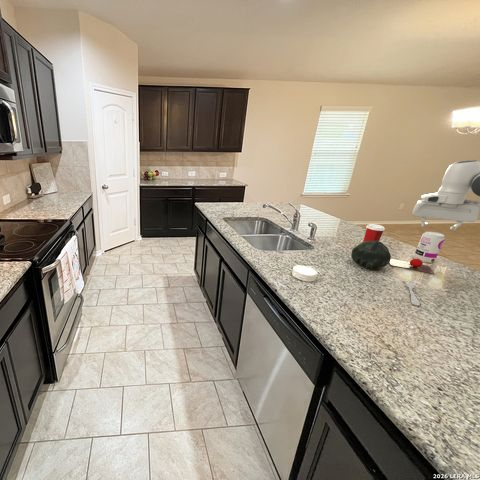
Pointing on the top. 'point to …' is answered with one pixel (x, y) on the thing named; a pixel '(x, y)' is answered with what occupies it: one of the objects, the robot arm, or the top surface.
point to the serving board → (408, 266)
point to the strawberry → (416, 262)
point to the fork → (412, 294)
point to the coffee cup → (373, 232)
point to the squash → (371, 254)
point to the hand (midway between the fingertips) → (437, 228)
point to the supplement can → (429, 246)
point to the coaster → (304, 273)
